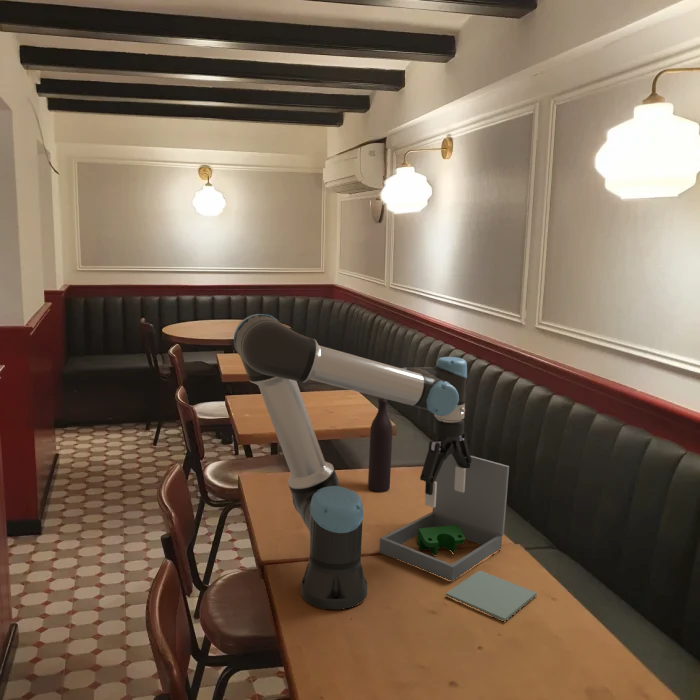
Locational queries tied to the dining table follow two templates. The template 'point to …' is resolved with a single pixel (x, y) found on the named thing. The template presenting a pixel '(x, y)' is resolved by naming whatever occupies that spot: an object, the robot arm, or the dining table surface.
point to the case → (459, 517)
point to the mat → (492, 595)
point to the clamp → (440, 538)
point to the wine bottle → (380, 450)
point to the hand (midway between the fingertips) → (445, 498)
